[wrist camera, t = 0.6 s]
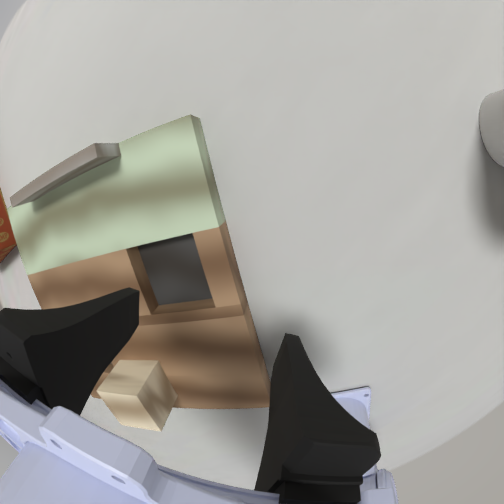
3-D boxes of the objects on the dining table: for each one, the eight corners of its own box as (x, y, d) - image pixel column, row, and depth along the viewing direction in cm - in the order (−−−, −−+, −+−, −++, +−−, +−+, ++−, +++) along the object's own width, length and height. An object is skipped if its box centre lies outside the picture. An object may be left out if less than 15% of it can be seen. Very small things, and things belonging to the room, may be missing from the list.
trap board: (273, 392, 26) (269, 430, 21) (99, 388, 31) (82, 411, 26) (199, 118, 19) (172, 108, 14) (19, 204, 23) (-13, 215, 19)
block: (177, 395, 26) (161, 431, 21) (139, 393, 26) (121, 424, 22) (158, 360, 24) (136, 395, 19) (119, 359, 25) (96, 390, 20)
